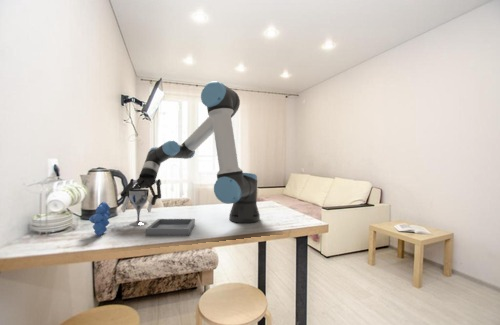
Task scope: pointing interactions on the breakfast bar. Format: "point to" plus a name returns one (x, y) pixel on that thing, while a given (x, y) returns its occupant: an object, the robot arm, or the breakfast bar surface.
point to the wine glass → (138, 203)
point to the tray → (170, 227)
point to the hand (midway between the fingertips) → (135, 210)
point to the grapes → (100, 218)
